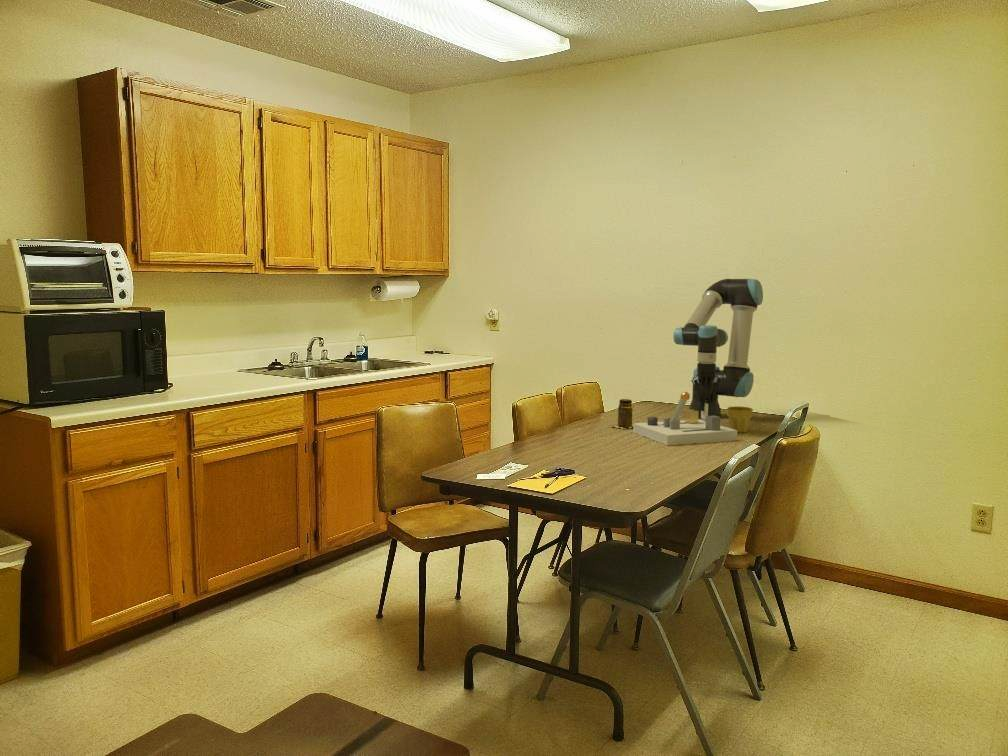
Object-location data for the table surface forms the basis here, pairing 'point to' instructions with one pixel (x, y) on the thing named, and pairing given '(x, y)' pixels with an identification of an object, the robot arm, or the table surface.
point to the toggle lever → (680, 406)
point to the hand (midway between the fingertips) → (704, 418)
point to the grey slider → (713, 422)
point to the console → (682, 432)
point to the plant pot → (739, 417)
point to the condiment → (625, 413)
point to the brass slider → (691, 416)
